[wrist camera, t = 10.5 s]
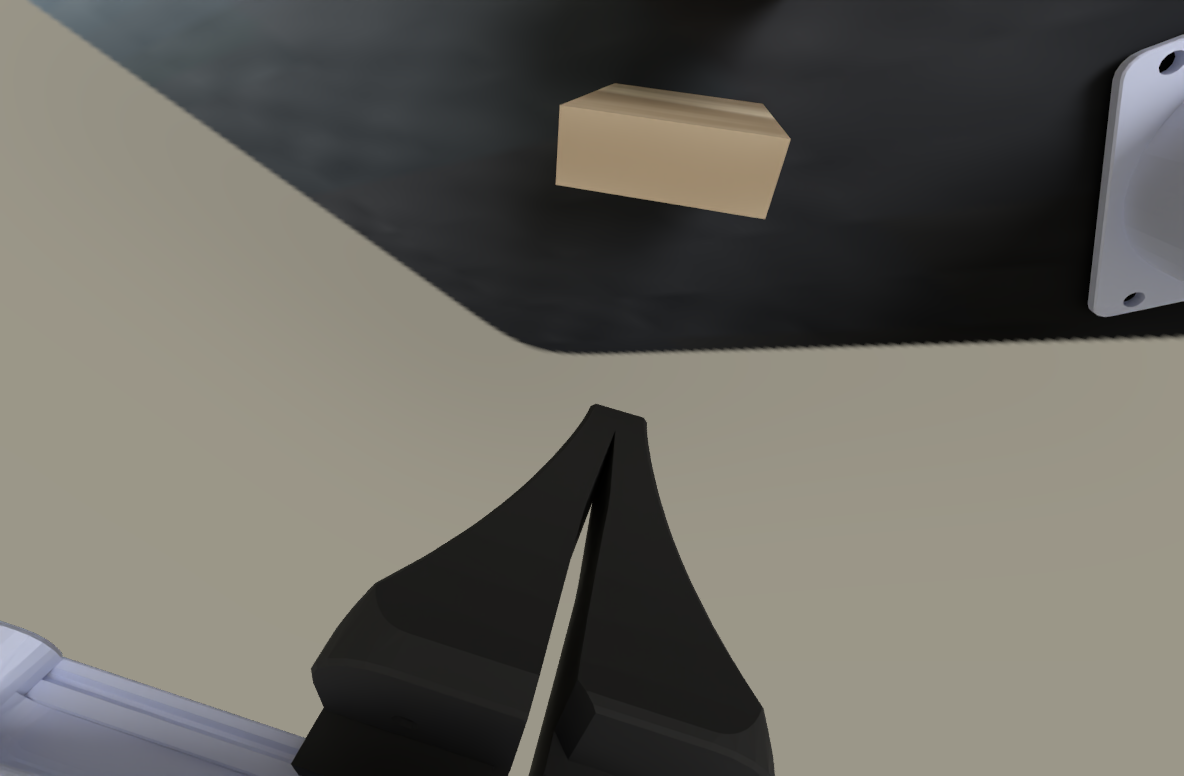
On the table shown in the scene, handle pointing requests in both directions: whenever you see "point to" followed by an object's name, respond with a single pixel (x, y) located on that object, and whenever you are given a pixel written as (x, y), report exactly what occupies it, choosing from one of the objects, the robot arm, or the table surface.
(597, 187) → the domino
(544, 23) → the table surface
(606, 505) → the robot arm
